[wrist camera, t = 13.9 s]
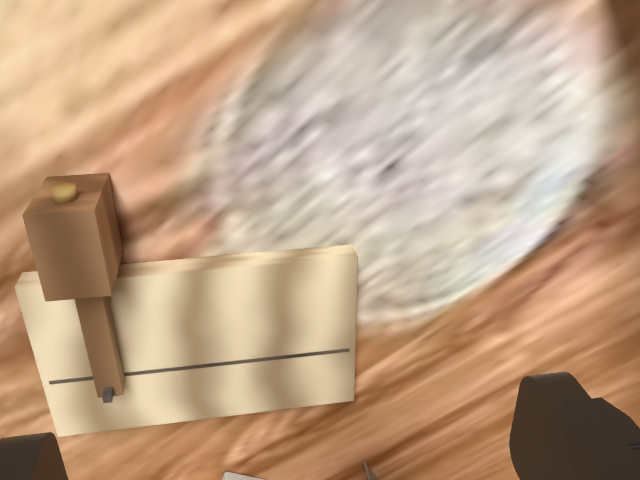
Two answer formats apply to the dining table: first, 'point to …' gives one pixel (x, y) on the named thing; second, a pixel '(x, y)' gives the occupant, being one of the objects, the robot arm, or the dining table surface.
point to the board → (205, 339)
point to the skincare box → (238, 477)
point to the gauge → (81, 263)
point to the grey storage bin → (370, 473)
